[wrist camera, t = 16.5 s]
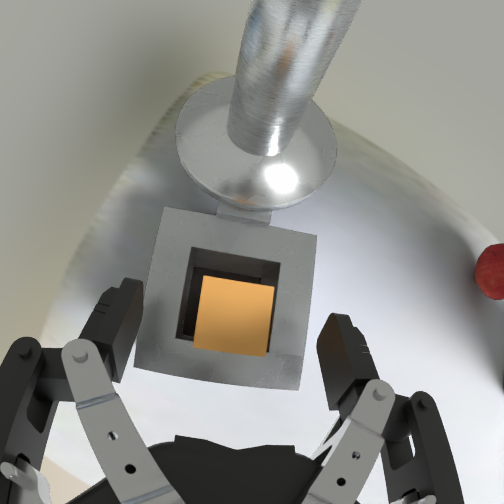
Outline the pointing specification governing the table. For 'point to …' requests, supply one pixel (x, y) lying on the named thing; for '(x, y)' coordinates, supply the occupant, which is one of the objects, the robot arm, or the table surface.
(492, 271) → the pomegranate
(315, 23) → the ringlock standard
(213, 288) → the orange block
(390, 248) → the table surface
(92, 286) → the table surface
